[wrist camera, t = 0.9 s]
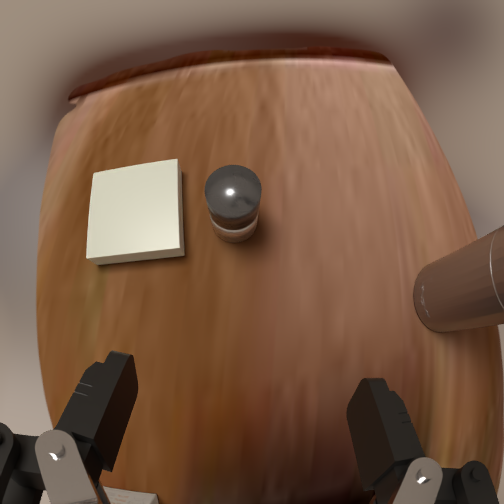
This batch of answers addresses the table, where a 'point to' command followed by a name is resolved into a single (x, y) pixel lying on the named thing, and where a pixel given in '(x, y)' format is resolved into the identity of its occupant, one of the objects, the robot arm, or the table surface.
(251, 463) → the table surface
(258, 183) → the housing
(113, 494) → the small box
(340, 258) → the table surface
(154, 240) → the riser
